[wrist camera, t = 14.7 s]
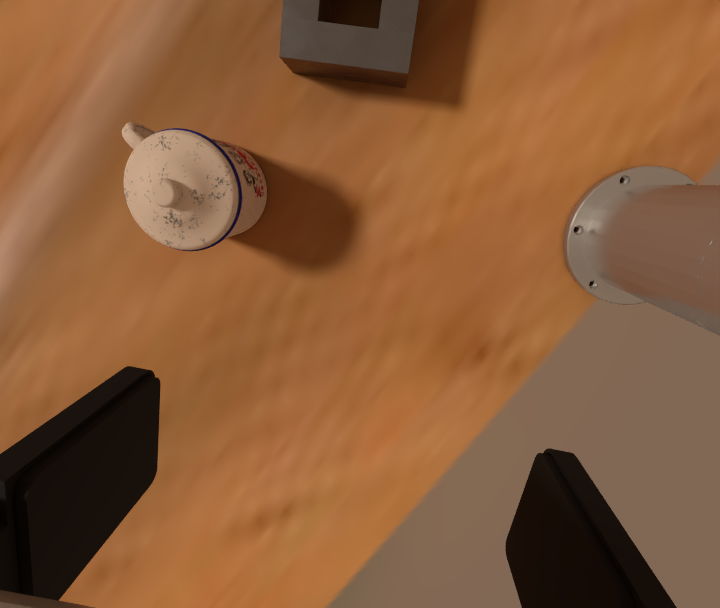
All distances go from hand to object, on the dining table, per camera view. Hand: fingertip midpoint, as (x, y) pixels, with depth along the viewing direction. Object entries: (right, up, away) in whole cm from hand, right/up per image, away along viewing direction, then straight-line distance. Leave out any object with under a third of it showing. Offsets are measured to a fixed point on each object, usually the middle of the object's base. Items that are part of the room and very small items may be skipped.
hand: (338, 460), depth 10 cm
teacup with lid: (-14, +16, +30) cm, 37 cm away
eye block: (0, +28, +25) cm, 38 cm away
